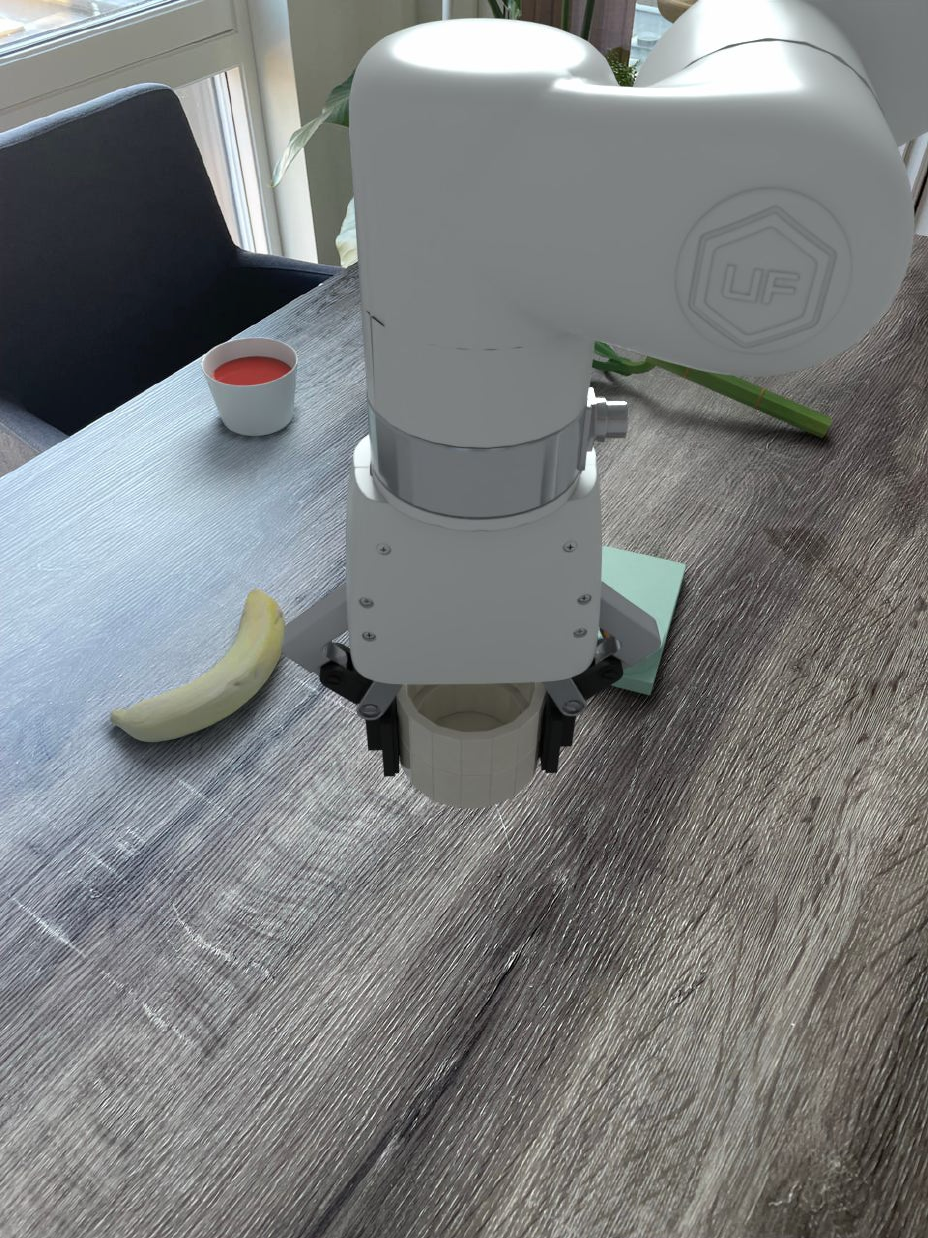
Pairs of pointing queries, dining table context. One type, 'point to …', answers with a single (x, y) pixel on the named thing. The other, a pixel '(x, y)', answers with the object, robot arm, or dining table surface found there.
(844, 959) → the dining table surface
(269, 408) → the candle
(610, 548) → the scale
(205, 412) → the dining table surface
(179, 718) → the fruit
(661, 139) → the robot arm
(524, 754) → the white cup
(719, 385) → the decorative plant
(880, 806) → the dining table surface
